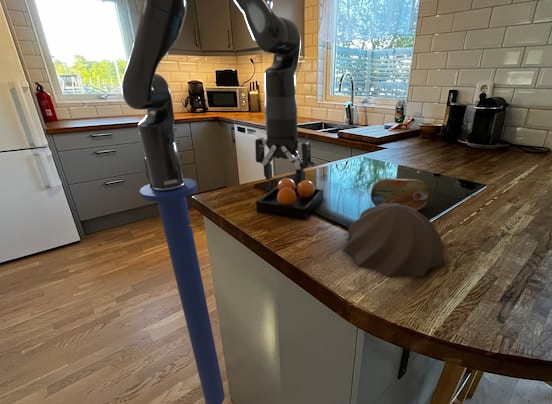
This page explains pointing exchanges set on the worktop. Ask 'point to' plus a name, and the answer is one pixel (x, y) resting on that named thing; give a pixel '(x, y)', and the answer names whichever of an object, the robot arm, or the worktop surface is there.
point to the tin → (400, 192)
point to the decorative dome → (395, 241)
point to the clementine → (286, 196)
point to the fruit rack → (303, 205)
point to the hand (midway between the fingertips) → (283, 180)
